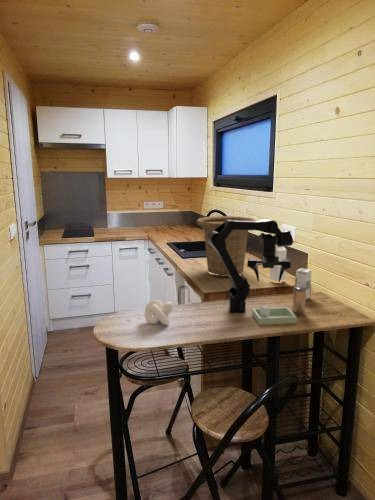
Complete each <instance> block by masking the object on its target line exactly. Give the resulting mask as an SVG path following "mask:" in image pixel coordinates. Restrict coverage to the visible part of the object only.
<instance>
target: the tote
mask: <svg viewBox="0 0 375 500" xmlns="http://www.w3.org/2000/svg"><path fill="white" fill-rule="evenodd" d="M251 314H252V316H253V318H254V320H256V323H258V325H259V326H261V325H282V324H283V325H284V324H297V322H298V320H297V319H298V316H297V315H294V314H293V313H292V310H290V308H289V307H287V306H285V307H282V306H281V307H270V314H269V317H266V318H261V317H260V307H257V308H251Z"/></svg>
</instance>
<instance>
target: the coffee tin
mask: <svg viewBox="0 0 375 500" xmlns="http://www.w3.org/2000/svg"><path fill="white" fill-rule="evenodd" d="M292 290H293V291H292V306H291V307H292V309H291V312H292V313H293V314H294V315H295V316H296V317H298V316H300V317H301V316H305V312H306V311H305V309H306V300H305V298H306V288H305V287H302V286H295V285H294V286H293V288H292Z"/></svg>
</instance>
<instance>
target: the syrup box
mask: <svg viewBox="0 0 375 500" xmlns="http://www.w3.org/2000/svg"><path fill="white" fill-rule="evenodd" d="M312 272H313V271H312V270H311V269H308V268H303V267H302V268H299V269H297V270H295V278H294V279H295V280H294V287H295V286H302V287H305V288H306V298H305V301H307V300H308V299H309V298H310V297H311V296H310V295H311V286H312V285H311V283H312Z"/></svg>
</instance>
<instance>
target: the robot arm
mask: <svg viewBox="0 0 375 500" xmlns="http://www.w3.org/2000/svg"><path fill="white" fill-rule="evenodd" d="M232 230H249V231H259V232H261V233H260V234H259V235H258V236H257V238H258V239H259V240H260V239H261V240H262V256H261V260H258V258H254V257H253V258H252V257H251V258H248V259H247V262H246V263H247V265H246V266H247V268H250V269H251V270H253V272H254V273H255V277H256V280H257V282H260V271H259V266H262V268H263V269H268V268H269V269H270V268H274V265H281V268H280V275H279V282H280V280H281V277H282V275H283V272H284V271H285V270H288V269H291V268H292V267H291V265H292V264H291V262H292V261H291V259H290V258H286V259H282V261H279V257H276V245H277V246H278V247H282V246H284V247H291V246H292V245H293V243H294V238H293V235H292V233H291V231H290V230H284V231H281V229H280V228H279V224H278V223H277V221H276V220H273V219H268V218H264V219H263V218H262V219H259V220H256V221H236V220H226V221H225V222H224V223H223V224H221V225H220V226H218V227H217V228H215V229H214V230H213V231H210V232H209V233H208V234H207V237H206V238H207V241H208V242H209V244H210V245H211V246H212V247H213V248H214V250H215V251H216V252H217V253H218V255H219V257H220V259H221V261H222V263H223V265H224V267H225V269H226V271H227V272H228V274H229V276H230V284H231V287H230V288H229V290H228V291H227V292H226V293H227V295H228V296H229V297H228V308H227V309H228V311H229V313H230V314H244V313H246V300H247V298H248V296H249V294H250V292H251V288H250V287H251V285H250V284H249V282H248V279H247V277H244V275H243V274H242V275H241V276H240V275H239V273H238V271H237V269H236V267H235V265H234V263H233V261H232V259H231V257H230V255H229V253H228V251H227V249H226V242H225V239H226V238H227V237H228V236H229V234H230V233H231V231H232ZM229 276H228V277H229Z"/></svg>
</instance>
